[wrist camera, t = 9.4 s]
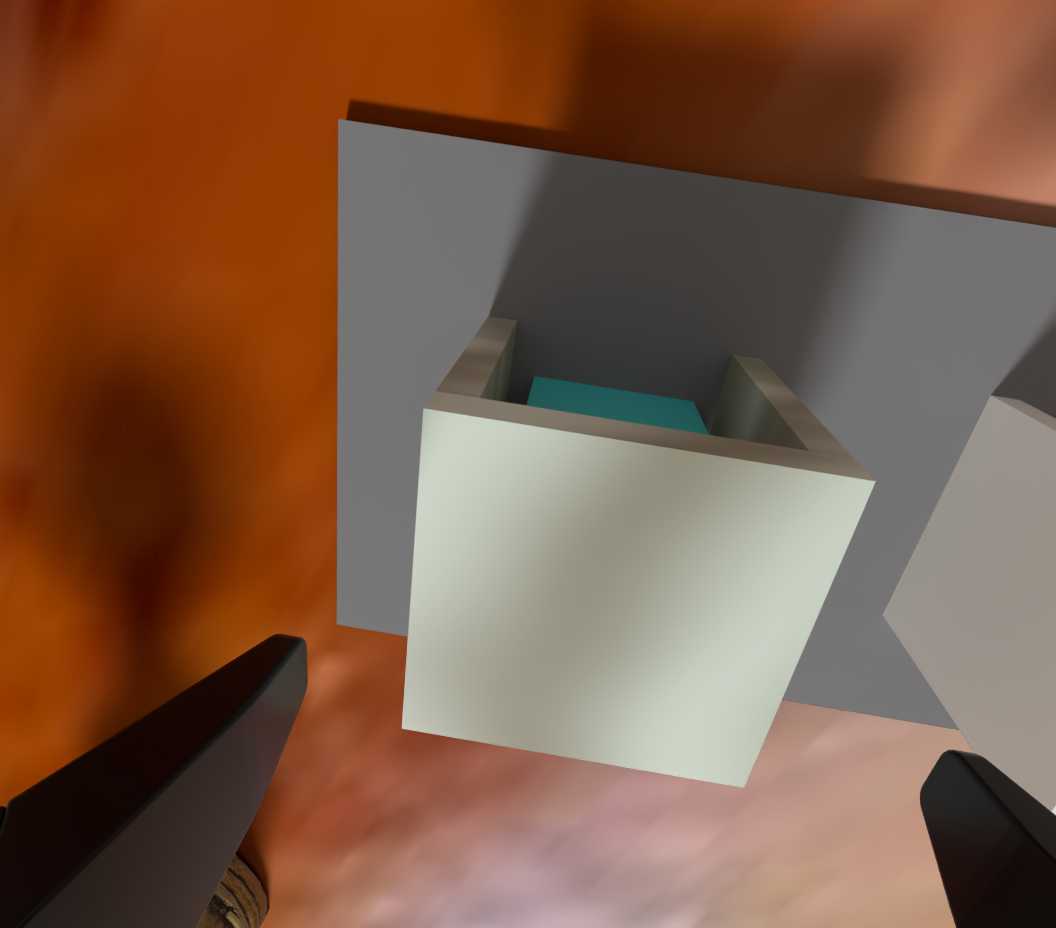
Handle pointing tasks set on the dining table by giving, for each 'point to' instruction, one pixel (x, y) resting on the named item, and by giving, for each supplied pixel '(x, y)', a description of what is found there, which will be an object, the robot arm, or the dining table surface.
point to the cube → (616, 404)
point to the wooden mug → (236, 900)
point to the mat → (679, 343)
